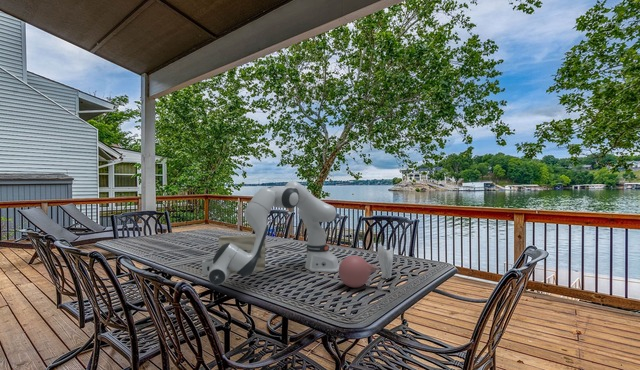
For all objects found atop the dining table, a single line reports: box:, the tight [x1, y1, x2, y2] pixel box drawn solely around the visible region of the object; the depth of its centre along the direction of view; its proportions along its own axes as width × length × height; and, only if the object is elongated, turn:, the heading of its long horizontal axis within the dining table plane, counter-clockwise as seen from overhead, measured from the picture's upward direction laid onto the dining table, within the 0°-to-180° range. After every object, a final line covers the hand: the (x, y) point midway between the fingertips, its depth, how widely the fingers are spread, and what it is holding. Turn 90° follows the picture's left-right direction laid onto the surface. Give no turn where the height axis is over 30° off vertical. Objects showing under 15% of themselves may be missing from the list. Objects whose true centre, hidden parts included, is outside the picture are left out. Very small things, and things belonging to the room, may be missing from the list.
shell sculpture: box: [377, 244, 394, 280], centre depth 165 cm, size 8×8×18 cm
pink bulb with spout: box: [338, 254, 380, 289], centre depth 150 cm, size 15×20×15 cm
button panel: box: [218, 234, 266, 273], centre depth 181 cm, size 13×26×20 cm, turn 101°
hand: (224, 260), depth 159 cm, fingers closed
